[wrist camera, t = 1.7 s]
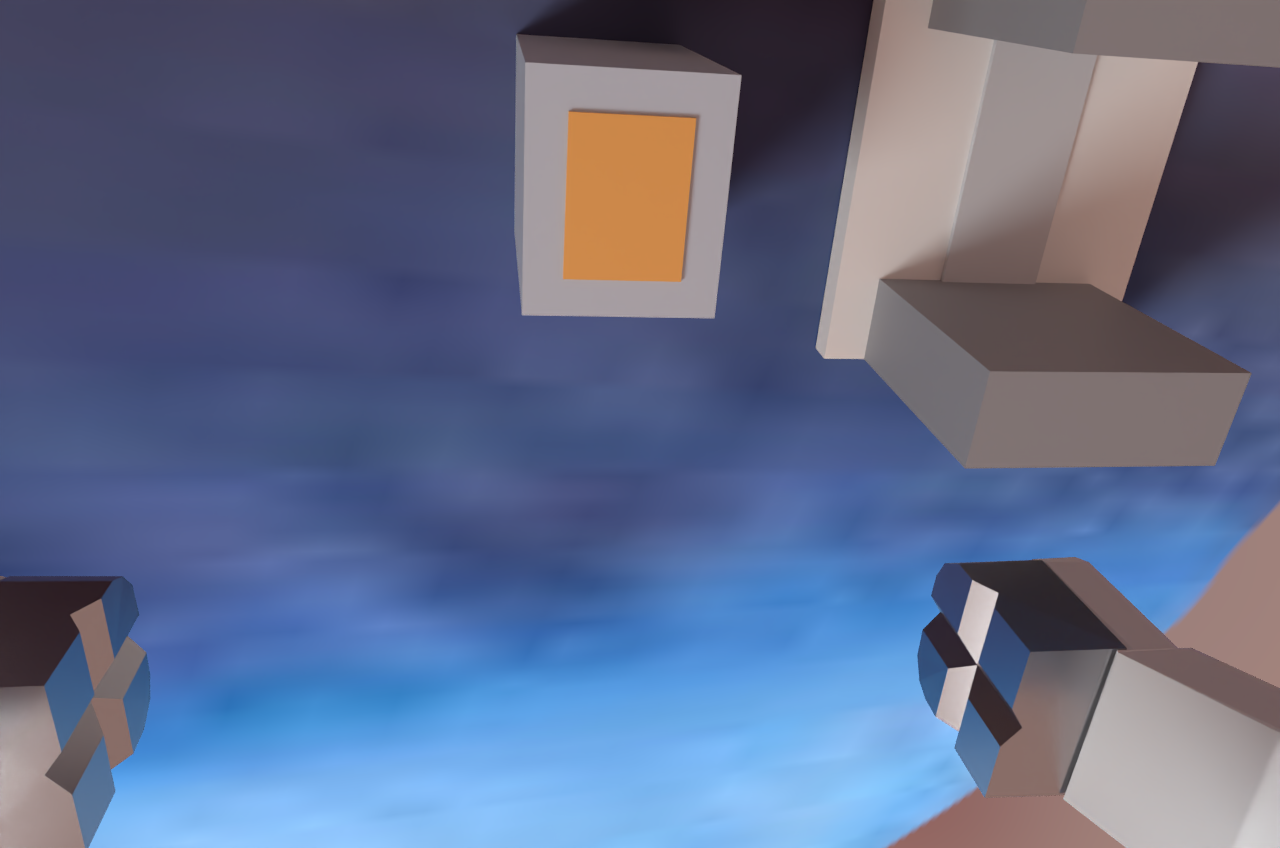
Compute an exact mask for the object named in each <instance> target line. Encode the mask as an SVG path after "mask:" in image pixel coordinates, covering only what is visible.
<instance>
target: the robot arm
mask: <svg viewBox="0 0 1280 848" xmlns="http://www.w3.org/2000/svg"><path fill="white" fill-rule="evenodd" d="M931 596H932V598H933V600H934V602H935V603H936V605H937V607H938V609H939V611H940V613H939V614H938V615H937V616H936V617H935V618H934V619H933V620H932V621H931V622H930V623H929V624H928V625H927V626H926V627H925V628H924V629H923V631H922V636H921V641H920V646H919V650H918V668H919V681H920V684H921V687H922V690H923V693H924V696H925V699H926V701H927V703H928V704H929V706H930V708H931V710H932V711H933V713H934V715H935V717H937V718H938V719H940V720H942V721H943V722H945V723H946V724H948V725H949V726H951V727H952V728H954V729H955V730H957V731H959V733H958V737H957V740H956V744H955V750H956V751H957V753H958V755H959V756H960V758H961V760H962V761H963V763H964V765H965V766H966V768H967V769H968V771H969V773H970V774H971V776H972V778H973V779H974V781H975V783H976V784H977V786H978V787H979V789H980V791H981V792H982V794H983V796H984V797H985V798H992V797H1025V796H1056V795H1064V798H1063V799H1064V800H1065V801H1066V802H1068V803H1069V804H1070V805H1071V806H1073V807H1074V808H1075V809H1077V810H1078V811H1079V812H1081V813H1082V814H1083V815H1085V816H1086V817H1087V818H1088V819H1090V820H1091V821H1092V822H1093V823H1095V824H1096V825H1097V826H1099V827H1100V828H1101V829H1102V830H1104V831H1105V832H1106V833H1108V834H1109V835H1110V836H1112V837H1113V838H1114V839H1115V840H1117V841H1118V842H1119V843H1121V844H1122V845H1123V846H1125V847H1126V848H1280V688H1278V687H1276V686H1274V685H1271V684H1269V683H1267V682H1265V681H1263V680H1261V679H1258V678H1256V677H1254V676H1252V675H1250V674H1248V673H1245V672H1243V671H1241V670H1239V669H1237V668H1234V667H1232V666H1230V665H1228V664H1226V663H1223V662H1221V661H1219V660H1217V659H1215V658H1213V657H1210V656H1208V655H1206V654H1204V653H1202V652H1199V651H1197V650H1195V649H1193V648H1177V647H1176V646H1175V645H1174V644H1173V643H1172V642H1171V641H1170V640H1169V639H1168V638H1167V637H1166V636H1165V635H1164V634H1163V633H1162V632H1161V631H1160V630H1159V629H1158V628H1157V627H1155V626H1154V625H1153V624H1152V623H1151V622H1150V621H1149V620H1148V619H1147V618H1146V617H1145V616H1144V615H1143V614H1142V613H1141V612H1140V611H1139V610H1138V609H1137V608H1136V607H1135V606H1134V605H1133V604H1132V603H1131V602H1130V601H1129V600H1127V599H1126V598H1125V597H1124V596H1123V595H1122V594H1121V593H1120V592H1119V591H1118V590H1117V589H1116V588H1115V587H1114V586H1113V585H1112V584H1111V583H1110V582H1109V581H1108V580H1107V579H1106V578H1105V577H1104V576H1103V575H1102V574H1100V573H1099V572H1098V571H1097V570H1096V569H1095V568H1094V567H1093V566H1092V565H1091V564H1090V563H1089V562H1087V561H1084V560H1081V559H1079V558H1076V557H1068V558H1050V559H1032V560H1025V561H997V562H970V563H945V564H944V565H943V567H942V568H941V570H940V571H939V573H938V574H937V576H936V580H935V583H934V587H933V591H932V595H931ZM138 616H139V611H138V607H137V603H136V598H135V594H134V590H133V585H132V584H131V583H130V582H128V581H127V580H126V579H125V578H124V577H123V576H9V577H7V578H6V577H2V576H0V848H89V846H90V843H91V841H92V839H93V837H94V835H95V833H96V831H97V829H98V827H99V825H100V823H101V820H102V818H103V816H104V814H105V812H106V810H107V808H108V806H109V804H110V802H111V800H112V797H113V795H114V793H115V787H114V782H113V777H112V773H111V769H112V768H114V767H115V766H116V765H118V764H119V763H121V762H122V761H123V760H125V759H126V758H128V757H129V756H130V755H132V754H133V753H134V751H135V748H136V746H137V744H138V742H139V739H140V737H141V735H142V733H143V730H144V727H145V722H146V717H147V712H148V707H149V702H150V671H149V665H148V659H147V653H146V652H145V651H144V650H143V649H142V648H140V647H139V646H138V645H137V644H136V643H135V642H134V641H133V640H131V639H130V638H129V637H128V634H129V632H130V630H131V628H132V626H133V625H134V623H135V621H136V619H137V617H138Z"/></svg>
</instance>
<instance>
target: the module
mask: <svg viewBox="0 0 1280 848" xmlns="http://www.w3.org/2000/svg"><path fill="white" fill-rule="evenodd" d="M741 76H742V75H740V74H738V73H736V72H734V71H732V70H730V69H728V68H726V67H724V66H722V65H720V64H718V63H716V62H714V61H712V60H710V59H708V58H706V57H704V56H701V55H699V54H697V53H695V52H693V51H691V50H689V49H687V48H685V47H683V46H681V45H677V44H661V43H646V42H630V41H615V40H599V39H584V38H568V37H552V36H537V35H521V34H516V119H515V227H514V231H515V243H516V254H517V265H518V276H519V287H520V298H521V309H522V315H545V316H607V317H670V318H714V317H715V308H716V299H717V290H718V281H719V273H720V264H721V255H722V246H723V237H724V228H725V219H726V210H727V201H728V192H729V183H730V174H731V165H732V156H733V147H734V139H735V130H736V121H737V112H738V103H739V94H740V85H741Z"/></svg>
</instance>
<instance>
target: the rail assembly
mask: <svg viewBox="0 0 1280 848" xmlns="http://www.w3.org/2000/svg"><path fill="white" fill-rule="evenodd" d="M1198 62H1206V63H1221V64H1236V65H1251V66H1265V67H1280V0H873V6H872V12H871V18H870V24H869V30H868V36H867V42H866V48H865V54H864V60H863V66H862V72H861V78H860V84H859V90H858V96H857V102H856V108H855V114H854V120H853V126H852V132H851V138H850V144H849V150H848V156H847V162H846V168H845V174H844V180H843V186H842V192H841V198H840V204H839V210H838V216H837V222H836V228H835V234H834V240H833V246H832V252H831V258H830V264H829V270H828V276H827V282H826V288H825V294H824V300H823V306H822V312H821V318H820V324H819V330H818V336H817V342H816V349H817V350H818V352H819V353H820V354H821V355H822V356H823V358H824V359H865V361H866V362H867V363H868V364H869V365H870V366H871V367H872V368H873V369H874V370H875V371H876V372H877V374H878V375H879V376H880V377H881V378H882V379H883V380H884V381H885V382H886V383H887V384H888V385H889V387H890V388H891V389H892V390H893V391H894V392H895V393H896V394H897V395H898V396H899V397H900V398H901V400H902V401H903V402H904V403H905V404H906V405H907V406H908V407H909V408H910V409H911V410H912V411H913V413H914V414H915V415H916V416H917V417H918V418H919V419H920V420H921V421H922V422H923V423H924V424H925V426H926V427H927V428H928V429H929V430H930V431H931V432H932V433H933V434H934V435H935V436H936V438H937V439H938V440H939V441H940V442H941V443H942V444H943V445H944V446H945V447H946V448H947V449H948V451H949V452H950V453H951V454H952V455H953V456H954V457H955V458H956V459H957V460H958V461H959V462H960V464H961V465H962V466H963V467H964V468H1043V467H1132V466H1215V464H1216V461H1217V459H1218V456H1219V454H1220V451H1221V449H1222V446H1223V444H1224V441H1225V439H1226V436H1227V434H1228V431H1229V429H1230V426H1231V424H1232V421H1233V419H1234V416H1235V414H1236V411H1237V408H1238V406H1239V403H1240V401H1241V398H1242V396H1243V393H1244V391H1245V388H1246V386H1247V383H1248V381H1249V378H1250V376H1251V373H1250V372H1248V371H1247V370H1245V369H1243V368H1241V367H1239V366H1238V365H1236V364H1234V363H1232V362H1230V361H1228V360H1227V359H1225V358H1223V357H1221V356H1219V355H1218V354H1216V353H1214V352H1212V351H1210V350H1209V349H1207V348H1205V347H1203V346H1201V345H1200V344H1198V343H1196V342H1194V341H1192V340H1190V339H1189V338H1187V337H1185V336H1183V335H1181V334H1180V333H1178V332H1176V331H1174V330H1172V329H1171V328H1169V327H1167V326H1165V325H1163V324H1162V323H1160V322H1158V321H1156V320H1154V319H1152V318H1151V317H1149V316H1147V315H1145V314H1143V313H1142V312H1140V311H1138V310H1136V309H1134V308H1133V307H1131V306H1129V305H1127V304H1125V303H1124V302H1122V300H1123V297H1124V293H1125V290H1126V287H1127V284H1128V281H1129V278H1130V275H1131V271H1132V268H1133V265H1134V262H1135V259H1136V256H1137V253H1138V249H1139V246H1140V243H1141V240H1142V237H1143V234H1144V230H1145V227H1146V224H1147V221H1148V218H1149V215H1150V212H1151V208H1152V205H1153V202H1154V199H1155V196H1156V193H1157V190H1158V186H1159V183H1160V180H1161V177H1162V174H1163V171H1164V168H1165V164H1166V161H1167V158H1168V155H1169V152H1170V149H1171V146H1172V142H1173V139H1174V136H1175V133H1176V130H1177V127H1178V124H1179V120H1180V117H1181V114H1182V111H1183V108H1184V105H1185V101H1186V98H1187V95H1188V92H1189V89H1190V86H1191V83H1192V79H1193V76H1194V73H1195V70H1196V67H1197V64H1198Z"/></svg>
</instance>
